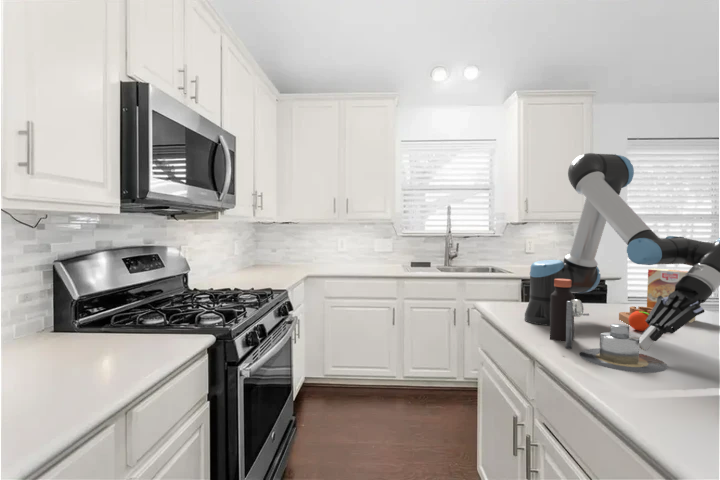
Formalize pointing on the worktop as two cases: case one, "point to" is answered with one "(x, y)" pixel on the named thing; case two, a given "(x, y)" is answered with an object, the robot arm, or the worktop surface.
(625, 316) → the bracket
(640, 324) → the clementine
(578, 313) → the dial gauge stand
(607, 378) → the worktop surface
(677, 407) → the worktop surface
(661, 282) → the coffeecake box
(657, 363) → the grey plate
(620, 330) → the cover
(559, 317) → the bottle
